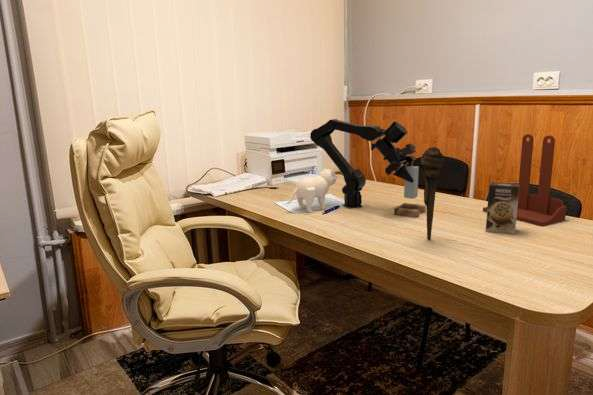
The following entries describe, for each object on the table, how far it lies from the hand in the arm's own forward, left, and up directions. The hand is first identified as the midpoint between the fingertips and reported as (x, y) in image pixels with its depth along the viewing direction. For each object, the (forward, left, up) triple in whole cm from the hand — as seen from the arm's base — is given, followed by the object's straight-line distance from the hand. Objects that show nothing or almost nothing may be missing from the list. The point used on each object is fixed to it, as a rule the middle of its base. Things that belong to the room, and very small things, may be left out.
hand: (414, 181), depth 165 cm
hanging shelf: (+34, -20, -14) cm, 41 cm away
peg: (-1, +1, -7) cm, 7 cm away
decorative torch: (-13, -28, -13) cm, 34 cm away
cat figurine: (-33, +25, -13) cm, 43 cm away
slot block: (-1, +1, -13) cm, 13 cm away
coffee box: (+14, -30, -13) cm, 36 cm away
